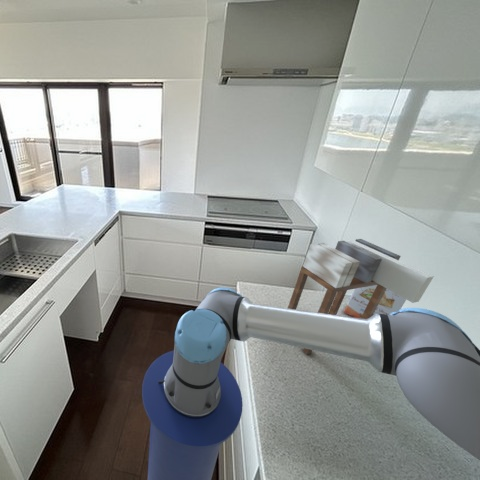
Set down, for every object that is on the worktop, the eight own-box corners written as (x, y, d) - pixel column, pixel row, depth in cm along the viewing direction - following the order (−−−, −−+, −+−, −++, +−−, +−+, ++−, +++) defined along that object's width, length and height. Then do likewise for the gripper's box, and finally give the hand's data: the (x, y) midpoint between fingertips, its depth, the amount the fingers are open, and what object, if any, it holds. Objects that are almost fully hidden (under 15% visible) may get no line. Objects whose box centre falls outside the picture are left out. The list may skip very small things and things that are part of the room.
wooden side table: (359, 341, 89) (404, 255, 74) (306, 354, 82) (344, 263, 68) (329, 317, 99) (363, 238, 85) (281, 327, 93) (309, 244, 78)
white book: (418, 301, 68) (434, 276, 64) (412, 303, 67) (427, 277, 64) (343, 260, 87) (352, 239, 83) (338, 261, 86) (346, 240, 82)
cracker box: (343, 313, 102) (363, 268, 93) (347, 306, 106) (367, 263, 97) (387, 333, 93) (414, 286, 84) (389, 325, 96) (416, 279, 87)
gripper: (527, 474, 44) (423, 348, 56) (591, 425, 51) (487, 323, 63) (592, 479, 38) (460, 337, 50) (653, 423, 46) (526, 312, 57)
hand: (475, 329), depth 57 cm, fingers open, 13 cm apart
